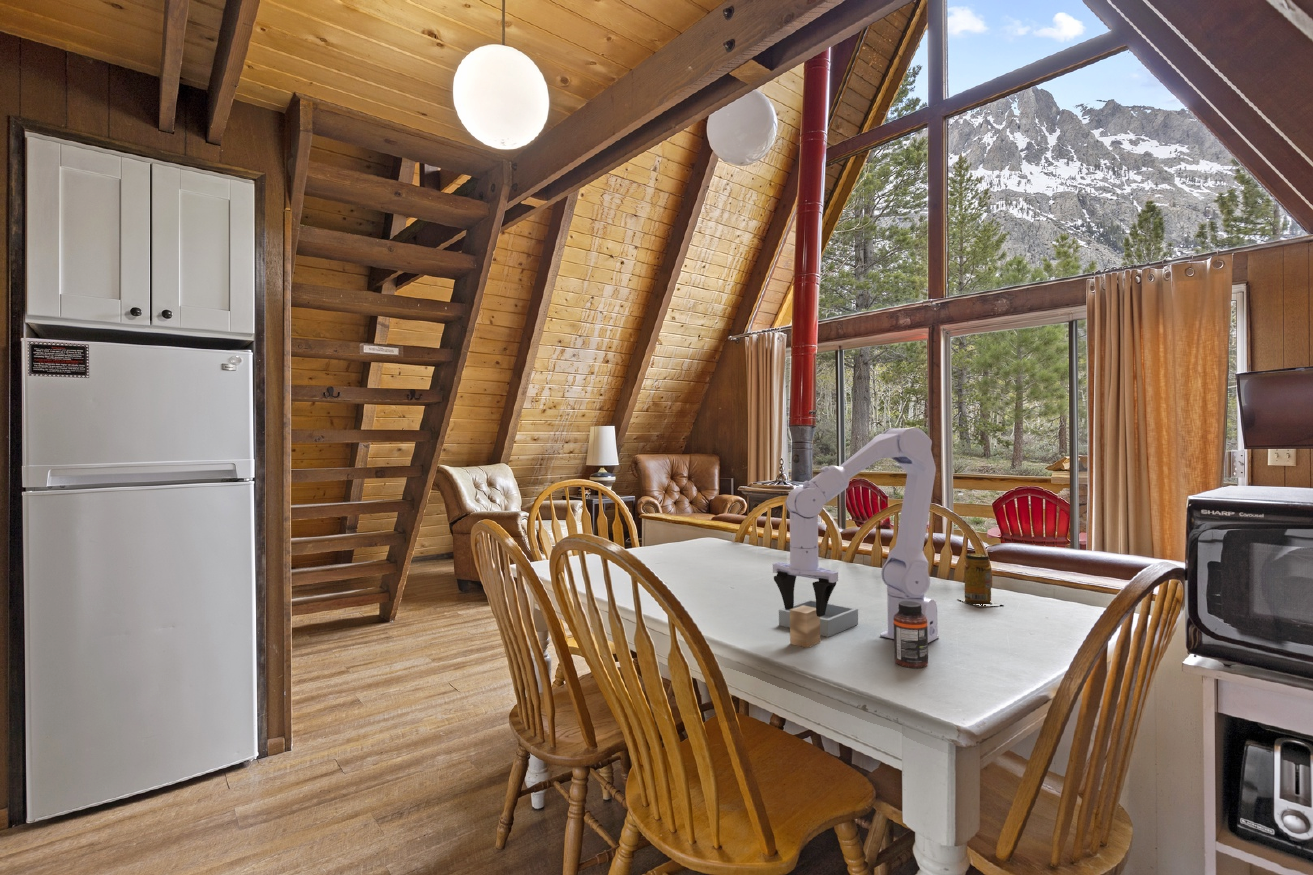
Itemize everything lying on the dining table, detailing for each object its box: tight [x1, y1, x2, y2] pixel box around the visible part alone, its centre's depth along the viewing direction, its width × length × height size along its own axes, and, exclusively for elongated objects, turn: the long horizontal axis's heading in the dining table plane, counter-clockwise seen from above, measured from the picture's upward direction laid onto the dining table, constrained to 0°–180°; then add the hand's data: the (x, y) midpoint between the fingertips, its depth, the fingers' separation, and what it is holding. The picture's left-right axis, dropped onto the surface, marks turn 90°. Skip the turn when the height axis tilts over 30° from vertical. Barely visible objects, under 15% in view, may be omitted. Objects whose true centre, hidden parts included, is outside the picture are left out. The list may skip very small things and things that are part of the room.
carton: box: [789, 605, 821, 649], centre depth 136 cm, size 4×5×7 cm
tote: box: [778, 599, 859, 638], centre depth 149 cm, size 13×13×4 cm
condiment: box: [962, 552, 1000, 608], centre depth 166 cm, size 7×8×12 cm
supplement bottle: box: [893, 601, 929, 669], centre depth 123 cm, size 6×6×11 cm
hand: (804, 612), depth 136 cm, fingers open, 7 cm apart
